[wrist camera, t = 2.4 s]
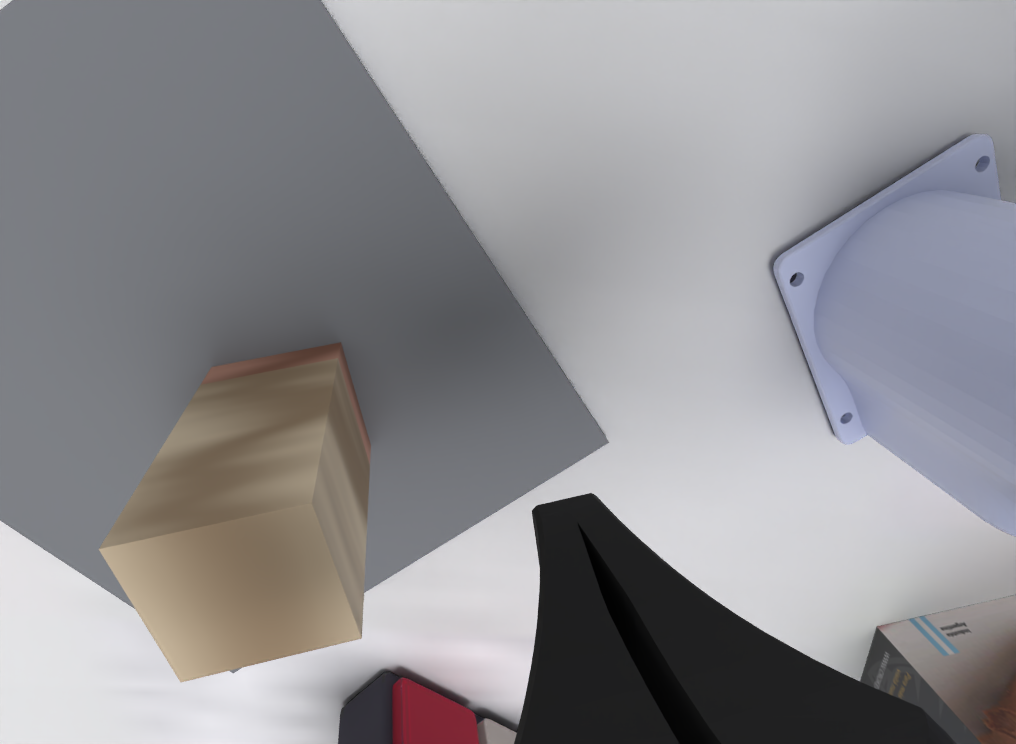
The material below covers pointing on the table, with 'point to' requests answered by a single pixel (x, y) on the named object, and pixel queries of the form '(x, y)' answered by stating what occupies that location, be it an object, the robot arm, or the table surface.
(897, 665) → the cake mix box
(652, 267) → the table surface
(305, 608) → the maple block
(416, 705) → the small drawer cabinet
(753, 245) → the table surface
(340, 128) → the mat
